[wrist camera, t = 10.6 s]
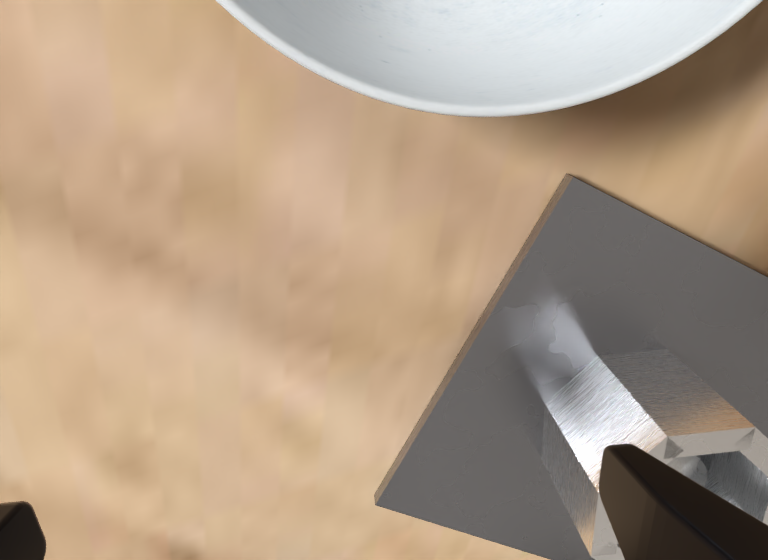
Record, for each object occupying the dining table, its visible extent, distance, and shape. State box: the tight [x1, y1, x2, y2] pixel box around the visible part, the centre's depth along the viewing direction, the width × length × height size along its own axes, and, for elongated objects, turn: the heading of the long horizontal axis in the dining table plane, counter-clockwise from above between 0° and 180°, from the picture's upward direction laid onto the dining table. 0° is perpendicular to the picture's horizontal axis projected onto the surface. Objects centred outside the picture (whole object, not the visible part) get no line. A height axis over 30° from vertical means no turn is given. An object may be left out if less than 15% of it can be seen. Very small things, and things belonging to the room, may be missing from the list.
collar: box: [541, 349, 768, 560], centre depth 21 cm, size 7×8×5 cm
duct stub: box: [374, 173, 768, 560], centre depth 22 cm, size 16×16×4 cm
